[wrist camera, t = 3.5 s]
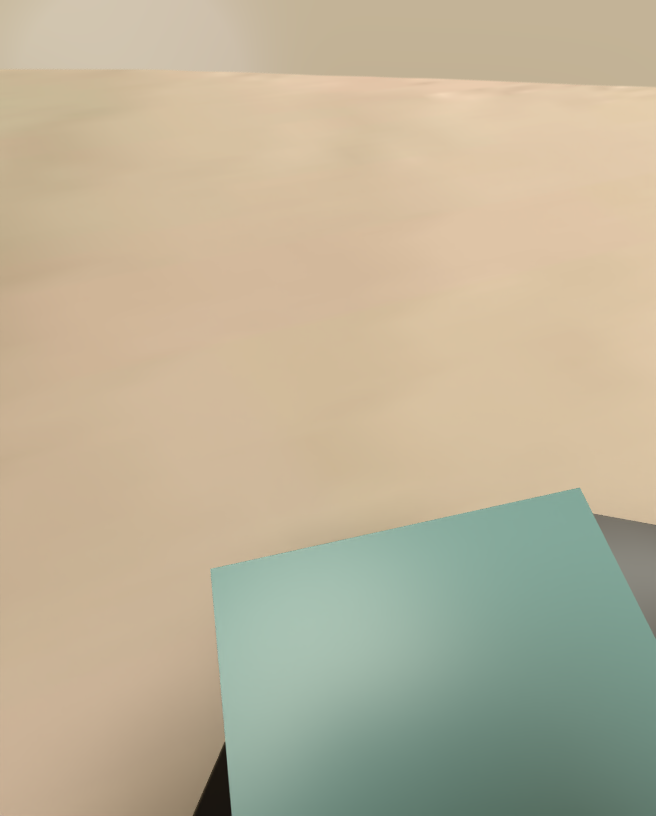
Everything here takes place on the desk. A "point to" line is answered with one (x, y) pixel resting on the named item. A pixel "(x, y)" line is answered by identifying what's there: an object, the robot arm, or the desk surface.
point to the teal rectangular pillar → (440, 672)
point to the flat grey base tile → (634, 559)
